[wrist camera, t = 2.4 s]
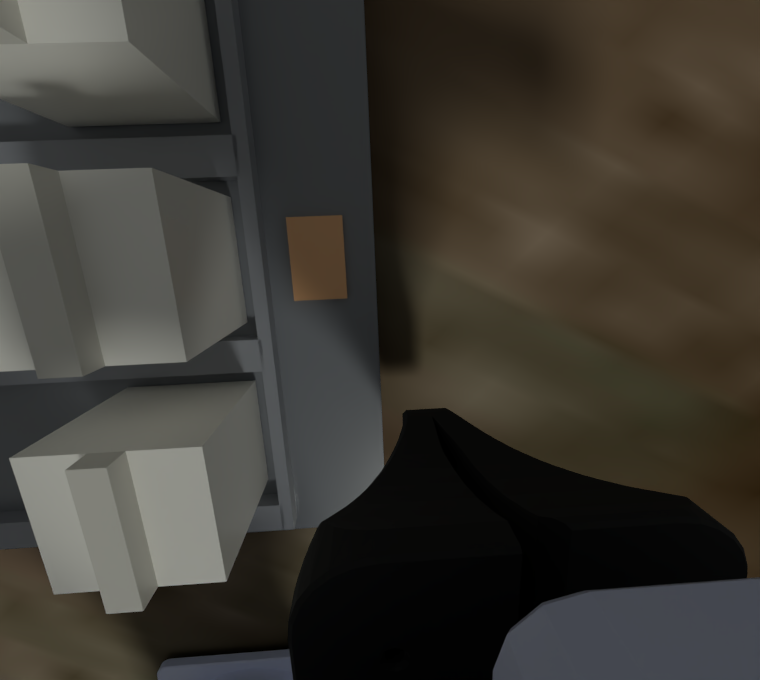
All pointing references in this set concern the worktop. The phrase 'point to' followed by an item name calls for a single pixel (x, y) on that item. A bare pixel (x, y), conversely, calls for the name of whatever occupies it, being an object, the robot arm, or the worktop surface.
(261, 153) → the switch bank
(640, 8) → the worktop surface
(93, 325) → the grey ridged block
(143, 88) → the grey ridged block
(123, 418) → the grey ridged block
